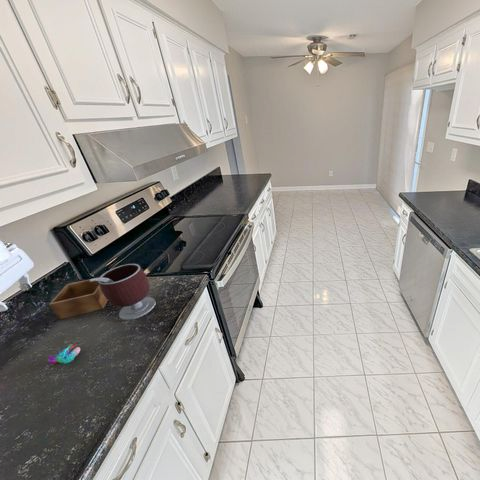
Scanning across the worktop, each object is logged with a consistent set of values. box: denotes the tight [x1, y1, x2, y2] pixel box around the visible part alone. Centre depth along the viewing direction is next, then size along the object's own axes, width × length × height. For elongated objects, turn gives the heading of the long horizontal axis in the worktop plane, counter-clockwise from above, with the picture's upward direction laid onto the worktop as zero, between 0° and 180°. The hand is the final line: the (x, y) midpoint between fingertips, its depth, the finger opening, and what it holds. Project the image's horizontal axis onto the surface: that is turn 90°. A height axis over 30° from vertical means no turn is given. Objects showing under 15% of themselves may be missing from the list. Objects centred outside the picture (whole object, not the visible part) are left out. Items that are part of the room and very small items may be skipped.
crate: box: [48, 278, 109, 320], centre depth 104 cm, size 15×14×8 cm
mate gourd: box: [88, 263, 157, 321], centre depth 95 cm, size 16×14×20 cm
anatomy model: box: [47, 343, 81, 364], centre depth 80 cm, size 5×8×7 cm
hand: (17, 298), depth 71 cm, fingers open, 8 cm apart
